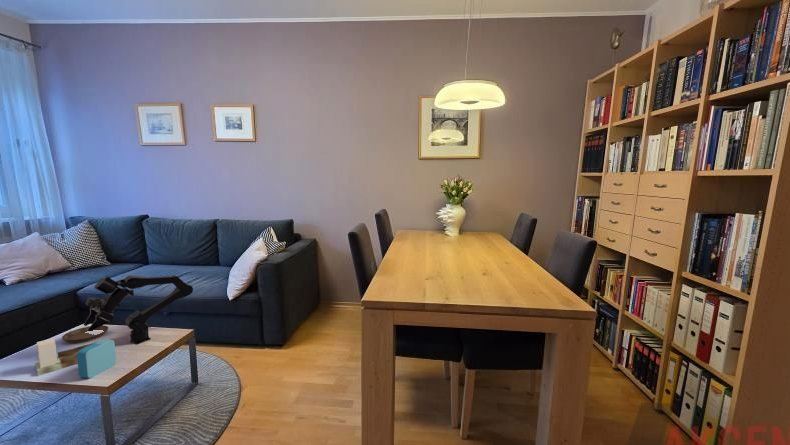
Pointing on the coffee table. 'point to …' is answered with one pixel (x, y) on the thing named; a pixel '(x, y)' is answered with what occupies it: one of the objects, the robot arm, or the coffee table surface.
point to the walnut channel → (62, 360)
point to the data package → (96, 358)
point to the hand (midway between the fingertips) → (86, 328)
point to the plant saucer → (83, 335)
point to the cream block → (47, 352)
